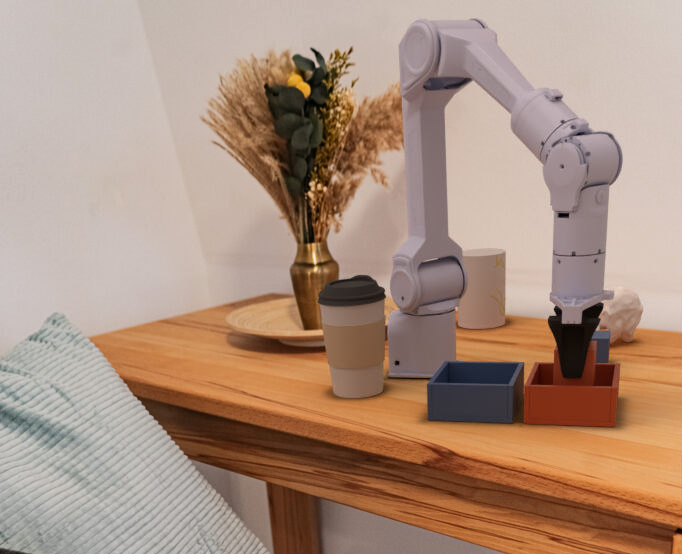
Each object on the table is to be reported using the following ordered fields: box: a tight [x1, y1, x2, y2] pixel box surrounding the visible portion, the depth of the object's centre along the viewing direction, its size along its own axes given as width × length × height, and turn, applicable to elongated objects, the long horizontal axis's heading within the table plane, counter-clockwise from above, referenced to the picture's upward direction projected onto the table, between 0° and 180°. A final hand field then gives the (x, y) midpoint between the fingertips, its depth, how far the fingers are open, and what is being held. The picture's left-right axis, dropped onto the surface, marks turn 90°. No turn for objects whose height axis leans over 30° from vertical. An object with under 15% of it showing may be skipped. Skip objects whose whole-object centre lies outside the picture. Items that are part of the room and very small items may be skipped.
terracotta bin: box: [523, 361, 621, 428], centre depth 100 cm, size 10×10×5 cm
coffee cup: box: [317, 274, 387, 399], centre depth 112 cm, size 9×9×15 cm
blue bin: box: [426, 360, 525, 424], centre depth 104 cm, size 10×10×5 cm
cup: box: [457, 247, 507, 330], centre depth 144 cm, size 8×8×12 cm
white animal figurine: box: [595, 285, 644, 345], centre depth 129 cm, size 6×8×12 cm
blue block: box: [591, 330, 611, 363], centre depth 117 cm, size 4×4×4 cm
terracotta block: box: [553, 341, 597, 386], centre depth 99 cm, size 4×4×4 cm
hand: (573, 371), depth 99 cm, fingers closed on terracotta block, 4 cm apart
